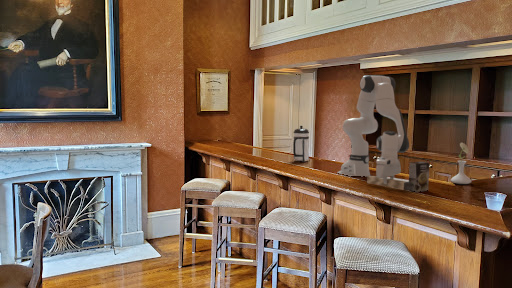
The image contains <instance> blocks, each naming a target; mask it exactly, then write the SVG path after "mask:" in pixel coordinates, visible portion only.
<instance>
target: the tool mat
mask: <svg viewBox="0 0 512 288" xmlns="http://www.w3.org/2000/svg"><path fill="white" fill-rule="evenodd" d="M390 177H391V176H388V177H387V178H389V179H390ZM394 180H400V181H406V182H409V179H403V178H396V177H394ZM429 183H430V182H429ZM429 183H428V185H429Z"/></svg>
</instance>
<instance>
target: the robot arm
mask: <svg viewBox="0 0 512 288" xmlns="http://www.w3.org/2000/svg"><path fill="white" fill-rule="evenodd" d="M359 88H360V93H359V96H358V99H357V104H356V110H357V111H358V112H359V113H360V116H359V117H353V118H349V119H345V121H344V122H343V124H342V129H343V131H344V133H345V134H346V135H347V136H348V138H349V139H350V143H351V154H349V155H348V156H347V157H348V158H349V159H347V161H345V162H344V163H343V164H342V165H341V167H340V170H338V171H337V174H338V173H339V174H338V175H342V174H344V175H343V176H346V175H348V176H347V177H351V176H361V178H362V177H363V176H365V177H367V176H371V173H370V167H369V161H370V155H369V142H368V141H367V140H365V139H364V137H363V135H368V134H373V133H375V132H376V131H378V128H379V123H378V121H377V119H376V118H375V116H374V110H375V109H376V112H377V113H378V114H380V115H381V116H383V117H386V118H388V119H390V120H392V121H393V122H394V123H395V126H396V129H397V132H396V131H392V130H386V131H384V132H382V135H379V136H378V137H377V138H376V144H375V145H376V149H377V150H378V151H379V152H381V155H380V156H379V157H378V159H376V168H375V169H376V170H375V172H376V173H375V176H377V177H379V178H383V180H384V184H388V181H387V177H390V179H394V178H396V177H395V175H396V176H397V175H400V174H401V171H402V170H401V162H400V159H399V158H398V153H402V154H404V153H405V152H407V151H408V150H409V149H410V142H409V138H408V134H407V130H406V126H405V122H404V118H403V114H402V111H401V109H400V108H398V107H397V104H396V103H395V102H396V101H395V100H396V99H395V92H394V91H395V89H396V80H395V79H394V78H393V77H391V76H385V75H370V74H369V75H363V76H362V77H361V79H360V81H359ZM363 178H364V177H363Z"/></svg>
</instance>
